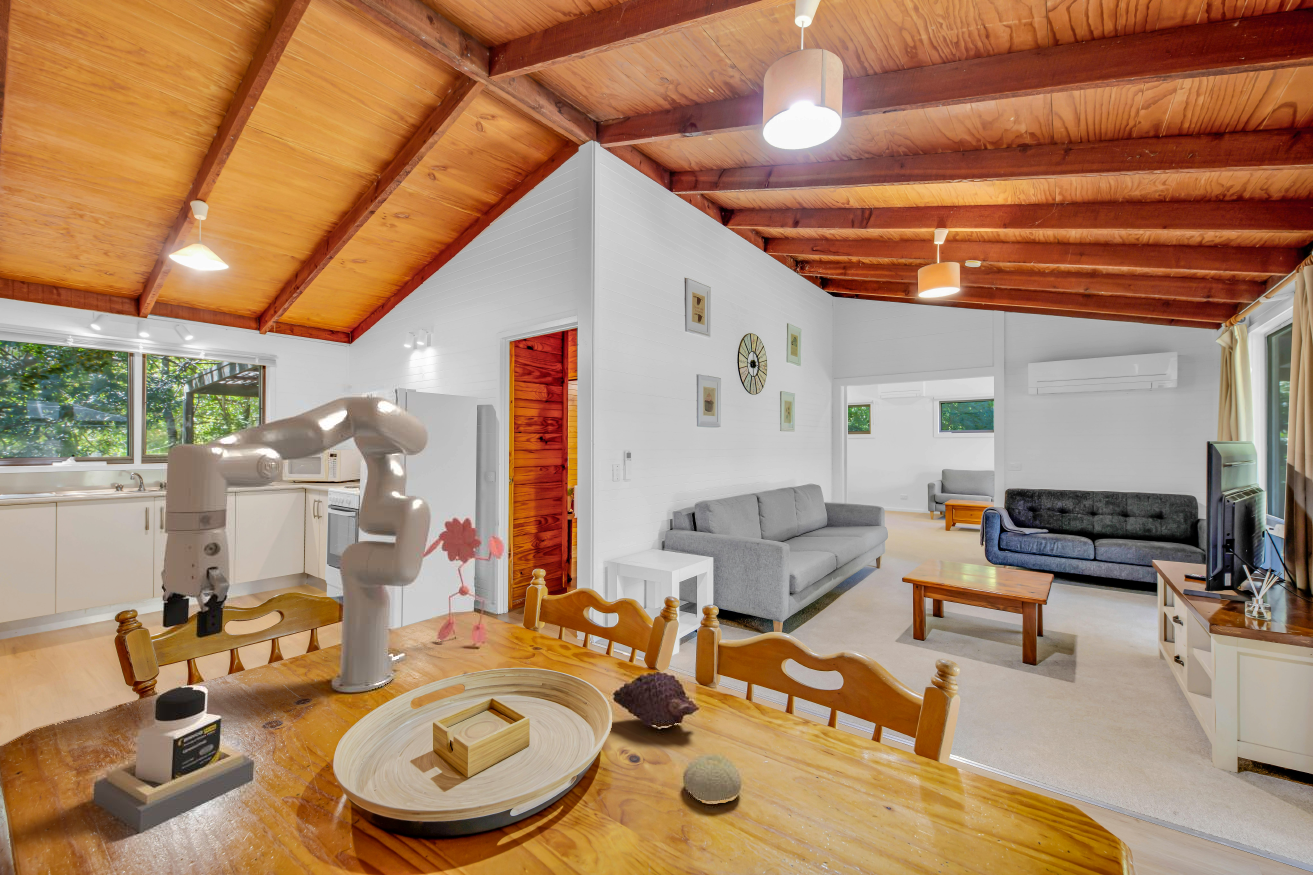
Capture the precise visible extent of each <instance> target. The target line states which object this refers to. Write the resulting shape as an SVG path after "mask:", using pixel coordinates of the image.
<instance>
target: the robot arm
mask: <svg viewBox="0 0 1313 875" xmlns="http://www.w3.org/2000/svg"><path fill="white" fill-rule="evenodd" d="M428 436H429V434H428V431H427V428H426V427H425V425H424V423H423V422H422V421H421V420H420V419H418V418H417V416H414V415H413V414H411V413H410V412H408V411H406V410H405V409H403V408H402V407H401V406H399V405H398V404H396V403H394V402H392V401H391V400H388V399H386V398H383V397H377V396H376V397H375V396H347V397H345V396H344V397H339V398H337V399H334V400H332V401H330V402H327V403H324V404H322V405H320V406H317V407H315V408H313V409H311V410H308V411H305V412H302V413H300V414H297V415H295V416H294V415H293V416H291V417H290V416H289V417H287V418H282V419H278V420H274V421H270V422H266V423H263V424H259V425H258V424H257V425H255V426H250V427H247V428H244V429H243V428H242V429H240V430H236V431H233V432H230V433H228V434H225V435H223V436H220V437H218V438H215V439H212V440H209V441H208V442H205V443H203V444H202V443H201V444H200V443H183V444H182V443H181V444H180V443H179V444H177V445H176V444H175V445H174V446H171V447H170V448H169V450H168V452H167V453H168V454H167V464H166V465H167V466H166V487H165V489H166V491H165V513H164V516H165V517H164V534H167V537H166V544H165V551H164V557H163V558H164V560H163V570H162V571H161V572H160V576H161V580H162V584H161V589H162V591H163V595H162V597H161V598H162V601H163V607H162V608H163V612H162V627H163V628H165V629H167V628H171V627H176V626H180V625H185V624H188V622H189V614H190V613H189V611H190V598H196V601H197V603H198V606H199V610H198V611H197V612H196V634H195V635H196V638H199V639H202V638H207V637H209V636H213V635H216V634H217V635H218V634H220V633H221V632H222V631H223V617H224V616H223V614H224V608H225V606H226V602H225V601H226V600H227V598H228V592H229V589H230V584H231V583H230V554H229V553H230V552H229V543H228V537H227V531H226V529H227V511H228V510H227V509H228V508H227V506H228V488H229V487H237V488H261V487H267V486H268V485H270V484H272V483H274V482H275V481H276V480H278V479H279V477H281V475H282V473H283V471H284V461H288V460H289V461H291V460H300V459H304V458H310V457H315V456H319V455H320V454H323V453H324V452H326V451H328V450H330V449H332V448H334V447H336V446H338V445H339V444H342V443H343V442H346V441H348V440H350V439H352V438H353V442H354V444H355V446H356V448H357V449H358V451H359V452H360V454H361V456H362V458H363V460H364V462H365V464H366V469H367V478H366V483H365V488H364V491H363V497H362V500H361V505H360V508H359V514H358V518H357V519H358V520H357V524H358V527H359V530H360V531H361V532H362V533H364V534H368V535H372V536H379V537H380V536H383V537H395V541H394V542H393V541H391V542H390V541H379V540H378V541H377V540H361V541H357V542H354V543H351V544H350V545H348V546H347V547H346V548H345V549H344V550H343V552H342V554H341V555H340V558H339V559H340V560H339V573H340V577H341V578H340V579H341V585H342V594H343V596H342V597H343V599H342V600H343V602H342V603H343V604H342V619H341V620H342V623H341V644H340V645H341V646H340V647H341V649H340V666H339V668H340V672H339V674H337V675H335V676H334V677H333V678H332V680H331V688H332V689H333V690H335V691H337V692H340V693H361V692H368V691H372V689H373V690H376V689H379V688H381V686H382V687H385V686H386V685H388V684H390V683H391V682H392V681H393V680H394V679H395V670H394V669H392V667H394V666H395V664H398V663H399V664H400V663H401V662H404V661H405V660H406V654H405V653H404V652H401V653H397V654H395V655H394V654H392V653H389V641H390V638H389V636H390V635H389V634H390V617H391V616H390V612H391V599H390V598H391V597H390V594H389V592H388V589H387V587H407V586H410V585H411V584H412V583H414V582H415V580H416V579H417V578H418V576H419V575H420V572H421V570H422V567H423V566H422V565H423V562H424V558H425V557H424V554H425V552H426V547H427V542H428V538H429V537H428V536H429V533H430V532H429V531H430V526H431V517H432V516H431V511H430V507H429V505H428V503H427V501H426V500H424V499H423V498H422V497H421V496H415V495H405V492H406V487H407V486H406V485H407V479H408V475H407V470H406V468H405V466H404V463H403V462H402V460H401V459H400V457H399V456H416V455H418V454H420V453H421V452H422V451H424V449H426V447H427V444H428V440H429V437H428ZM423 557H424V558H423ZM386 586H387V587H386ZM188 597H190V598H188ZM207 597H209V598H208V599H207ZM393 678H394V679H393ZM392 679H393V680H392ZM391 680H392V681H391ZM390 681H391V682H390ZM389 682H390V683H389ZM387 683H388V684H387ZM385 684H386V685H385ZM378 687H379V688H378ZM375 688H376V689H375Z"/></svg>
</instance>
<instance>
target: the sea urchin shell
mask: <svg viewBox="0 0 1313 875" xmlns="http://www.w3.org/2000/svg"><path fill="white" fill-rule="evenodd" d="M682 781H683V782H682V783H684V784H683V785H685V786H684V788H685V787H686V788H685V789H686V791H687V790H688V791H690V792H691V794H692V795H694V796H695V797H697V798H698V799H701V800H705V801H718V800H719V801H720V800H724V799H725V800H726V799H730V798H732V797H734V796H736V795H737V794H738V793H739V794H740V792H739V791H741V789H742V788H741V787H742V779H741V776H740V773H739V771H738V769H737V768H736V766H735V765H734V763H733V762H732V761H730V759H729V758H726V757H724V756H723V755H721V754H720V755H718V754H715V753H712V754H711V753H706V754H705V753H704V754H703V755H700V756H698V757H696V758H694V759H693V760H692V761H690V763H688V765H687V766H686V768H685V769H684V771H683V775H682ZM688 791H687V792H688ZM691 794H690V795H691ZM692 795H691V796H692Z"/></svg>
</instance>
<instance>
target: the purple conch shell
mask: <svg viewBox="0 0 1313 875" xmlns="http://www.w3.org/2000/svg"><path fill="white" fill-rule="evenodd" d="M612 695H613V698H612V700H613V702H615V703H616V704H618V705H619V706H621V707H622V708H624V709H626V710H627V711H628V713H629V714H631V715H633V716H634V717H636V719H638V720H641V721H642V722H643V725H645V724H648V725H647V726H649V725H650V726H649V727H652V725H656V726H657V727H661V726H669V725H674V724H675V723H681V724H682V722H683V719H684V717H685V716H690V715H693V714H694V713H695V712H697V711H700V707H699V706H697V705H696V704H695V703H694V701H693V700H690V696H686V695H687V693H686V692H685V689H684V687H683V684H682V683H680V680H678V679H676V677H675V675H673V674H670V675H669V674H668V673H667V672H663V673H661V672H660V671H656V672H654V673H653V672H651V673H650V672H648V673H646V675H644V674H640V675H639V677H636V678H635V679H633V680H632V681H631V682H629V683H628V682H625V683H624V684H623V686H620V688H618V689H616V690H615V691H614V692H613V693H612Z"/></svg>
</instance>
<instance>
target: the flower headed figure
mask: <svg viewBox="0 0 1313 875" xmlns="http://www.w3.org/2000/svg"><path fill="white" fill-rule="evenodd" d="M444 527H445V529H446V530H444V531H442V532H440V533H439V535H438V538H437V539H436V540H434V542H433V543H432V544H430V546H429V547H428V548H427V549H426V550H425V552H424V557H423V559H424V558H425V557H427V556H429V555H430V554H432V552H433V551H435V550H436V549H437V548H438V547H439V545H440V544H441V543H442V544H441V551H443V552H447V557H448V560H449V562H454V561H456V562H457V561H458V562H459V561H460V562H462V563H461V565H459V566H458V569H457V571H458V574H459V578H460V582H461V586H460V587H459V590H458V591H457V592H456V593H454V594H452V595H450V596H449V597H448V607H449V609H448V611H449V612H448V615H449V616H448V617H449V619H448V620H446V621H445V622H444V623H443V624H442V626H441V627H440V629H439V631H438V633H437V634H438V635H437V639H440V640H441V641H442V640H443V641H444V640H445V639H447V638H448V637H449V636H450V634H451V633H452V632H453V635H454V634H456V635H457V633H456V630H455V624H456V620H455V619H454V618H452V616H451V615H452V614H451V612H452V611H451V608H452V607H451V598H452V597H453V596H456V595H458V594H459V595H460V596H463V597H464V596H467V595H469V596H472V597H474V598H476V599H478V600H481V601H482V606H481V611H480V618H479V622H477V623H475V624H474V626H473V629H472V630H471V638H472V641H473V643H474V645H476V644H477V643H482V644H483V641H484V640H485V639H486V638H487V637H486V636H487V628H486V626H485V625H484V623H483V622H482V617H483V612H484V608H485V607H484V606H485V599H483V598H481V597H479V596H477V595H474V594H472V593H470V588H469V586H467V585H465V584H464V581H463V576H462V572H461V568H462V567H463V566H464V565H465V564H466V563H468V562H469V560H471V559H476V560H482V561H486V562H490V560H491V559H492V556H494V557H495V558H496V559H499V560H501V558H502V556H503V553H504V550H505V548H504V547H505V546H504V543H503V540H502V539H501V538H500V537H498V536H496V535H491V538H490V539H489V541H488V549H489V552H488V553H489V554H488V558H485V557H480V556H479V557H478V556H476V550H475V549H477V548H479V547H480V546H481V545H482V539H480V538H478V537H477V533H478V532H477V531H478V530H477V528H476V527H473V523H472V520H471V519H470V518H469V517H466V518H465V519H464V520H463V521H461V519H459V518H457V517H453V518H452V521H451V520H447V521H445V522H444ZM437 639H436V640H437Z"/></svg>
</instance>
